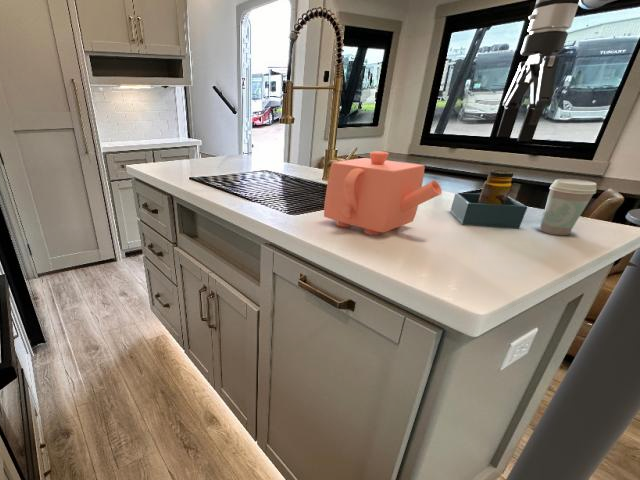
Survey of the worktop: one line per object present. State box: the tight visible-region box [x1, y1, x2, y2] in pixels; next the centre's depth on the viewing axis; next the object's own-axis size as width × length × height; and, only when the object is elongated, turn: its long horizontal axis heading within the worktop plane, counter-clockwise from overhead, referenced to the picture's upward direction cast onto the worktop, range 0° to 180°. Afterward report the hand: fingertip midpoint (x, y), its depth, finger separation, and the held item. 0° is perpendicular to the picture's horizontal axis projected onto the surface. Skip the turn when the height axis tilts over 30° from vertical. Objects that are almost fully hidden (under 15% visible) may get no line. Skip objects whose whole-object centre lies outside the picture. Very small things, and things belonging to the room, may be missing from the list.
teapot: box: [323, 150, 442, 236], centre depth 87 cm, size 25×23×18 cm
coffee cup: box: [539, 178, 597, 236], centre depth 86 cm, size 8×8×12 cm
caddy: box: [449, 192, 528, 230], centre depth 97 cm, size 13×13×6 cm
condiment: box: [478, 169, 514, 205], centre depth 95 cm, size 7×8×12 cm
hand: (512, 138), depth 88 cm, fingers open, 13 cm apart
